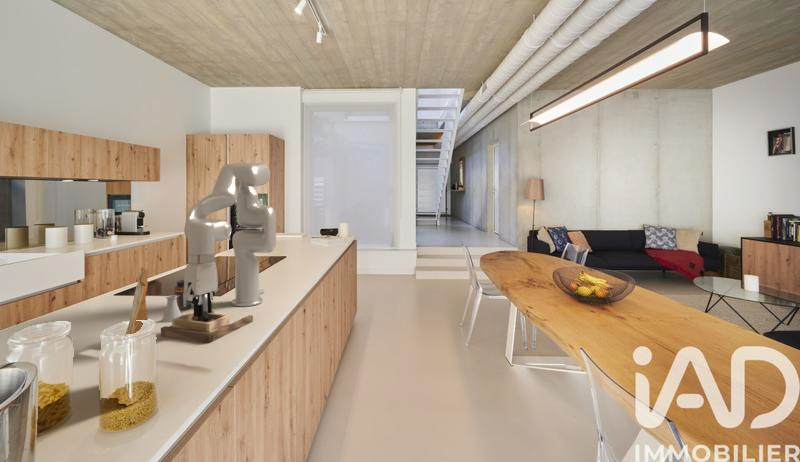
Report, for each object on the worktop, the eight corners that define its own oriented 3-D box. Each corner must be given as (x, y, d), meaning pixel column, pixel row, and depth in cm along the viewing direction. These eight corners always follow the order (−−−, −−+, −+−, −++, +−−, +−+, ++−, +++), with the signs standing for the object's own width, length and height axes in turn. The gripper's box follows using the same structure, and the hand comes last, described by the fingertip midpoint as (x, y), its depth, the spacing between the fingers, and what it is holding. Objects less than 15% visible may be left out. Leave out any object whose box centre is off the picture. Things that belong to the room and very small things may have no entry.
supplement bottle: (171, 309, 149) (170, 281, 148) (185, 305, 154) (184, 278, 153) (181, 311, 146) (181, 283, 145) (195, 307, 152) (194, 280, 151)
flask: (173, 327, 128) (172, 299, 127) (155, 325, 129) (154, 298, 128) (189, 321, 135) (188, 294, 134) (172, 319, 136) (171, 293, 136)
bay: (210, 320, 136) (210, 309, 136) (253, 325, 132) (253, 314, 132) (161, 340, 116) (160, 327, 116) (209, 347, 112) (209, 334, 111)
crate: (194, 325, 126) (194, 311, 126) (229, 329, 123) (229, 315, 123) (172, 334, 118) (172, 319, 117) (209, 339, 114) (209, 323, 114)
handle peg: (202, 325, 123) (202, 287, 122) (210, 326, 122) (209, 288, 121) (195, 328, 120) (195, 289, 119) (203, 329, 119) (202, 290, 118)
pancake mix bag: (159, 369, 97) (156, 265, 95) (149, 406, 80) (145, 280, 78) (128, 374, 94) (124, 266, 92) (110, 413, 77) (105, 282, 75)
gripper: (210, 254, 128) (211, 306, 129) (170, 262, 112) (172, 321, 114) (229, 256, 126) (229, 308, 128) (191, 263, 110) (192, 323, 112)
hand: (202, 313), depth 121 cm, fingers closed on handle peg, 3 cm apart
